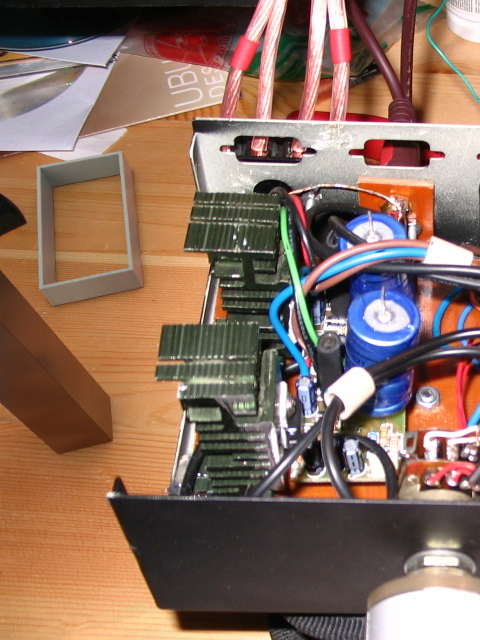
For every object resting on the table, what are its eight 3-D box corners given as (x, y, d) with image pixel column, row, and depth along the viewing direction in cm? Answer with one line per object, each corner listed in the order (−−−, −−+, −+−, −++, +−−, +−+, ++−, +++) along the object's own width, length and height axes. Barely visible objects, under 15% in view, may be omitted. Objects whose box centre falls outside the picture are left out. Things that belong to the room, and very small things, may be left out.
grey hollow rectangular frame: (52, 306, 82) (38, 289, 79) (49, 185, 90) (36, 166, 87) (143, 286, 83) (132, 269, 81) (131, 169, 92) (121, 150, 89)
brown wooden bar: (57, 454, 73) (-130, 288, 51) (56, 409, 76) (-124, 231, 53) (113, 440, 74) (-48, 271, 52) (109, 396, 77) (-45, 216, 54)
